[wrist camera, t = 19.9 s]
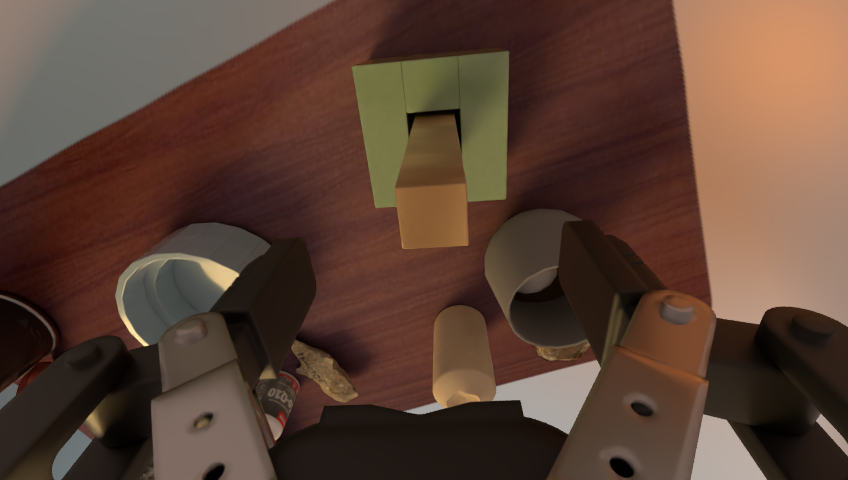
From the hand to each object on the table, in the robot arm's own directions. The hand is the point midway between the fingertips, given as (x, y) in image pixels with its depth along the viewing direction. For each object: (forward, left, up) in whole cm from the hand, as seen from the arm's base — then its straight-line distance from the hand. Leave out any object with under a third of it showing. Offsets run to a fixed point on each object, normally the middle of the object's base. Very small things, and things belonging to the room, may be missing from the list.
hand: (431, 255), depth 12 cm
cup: (+8, -11, -21) cm, 25 cm away
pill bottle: (-21, -30, -21) cm, 42 cm away
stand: (0, 0, -21) cm, 21 cm away
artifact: (-15, -26, -21) cm, 37 cm away
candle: (+1, -21, -21) cm, 30 cm away
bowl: (-22, -14, -21) cm, 33 cm away
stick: (0, 0, -21) cm, 21 cm away
